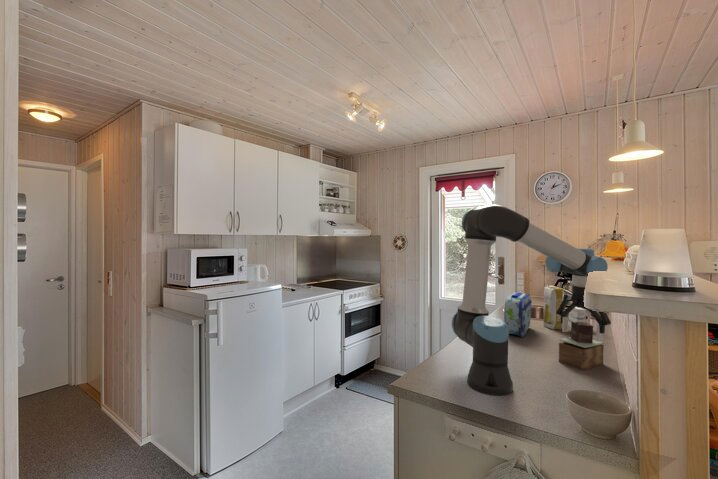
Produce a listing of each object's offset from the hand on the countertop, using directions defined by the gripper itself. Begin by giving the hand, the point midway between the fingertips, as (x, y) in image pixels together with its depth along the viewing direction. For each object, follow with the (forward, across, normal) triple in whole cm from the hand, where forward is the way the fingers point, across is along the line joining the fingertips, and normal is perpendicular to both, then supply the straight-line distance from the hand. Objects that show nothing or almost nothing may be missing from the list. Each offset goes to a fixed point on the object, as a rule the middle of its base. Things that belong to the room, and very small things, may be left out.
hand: (581, 336), depth 140 cm
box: (+2, 0, 0) cm, 2 cm away
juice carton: (+11, +37, -40) cm, 56 cm away
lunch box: (+11, +41, -15) cm, 45 cm away
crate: (+11, 0, 0) cm, 11 cm away
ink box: (+11, +30, -51) cm, 60 cm away
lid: (+3, 0, 0) cm, 3 cm away
